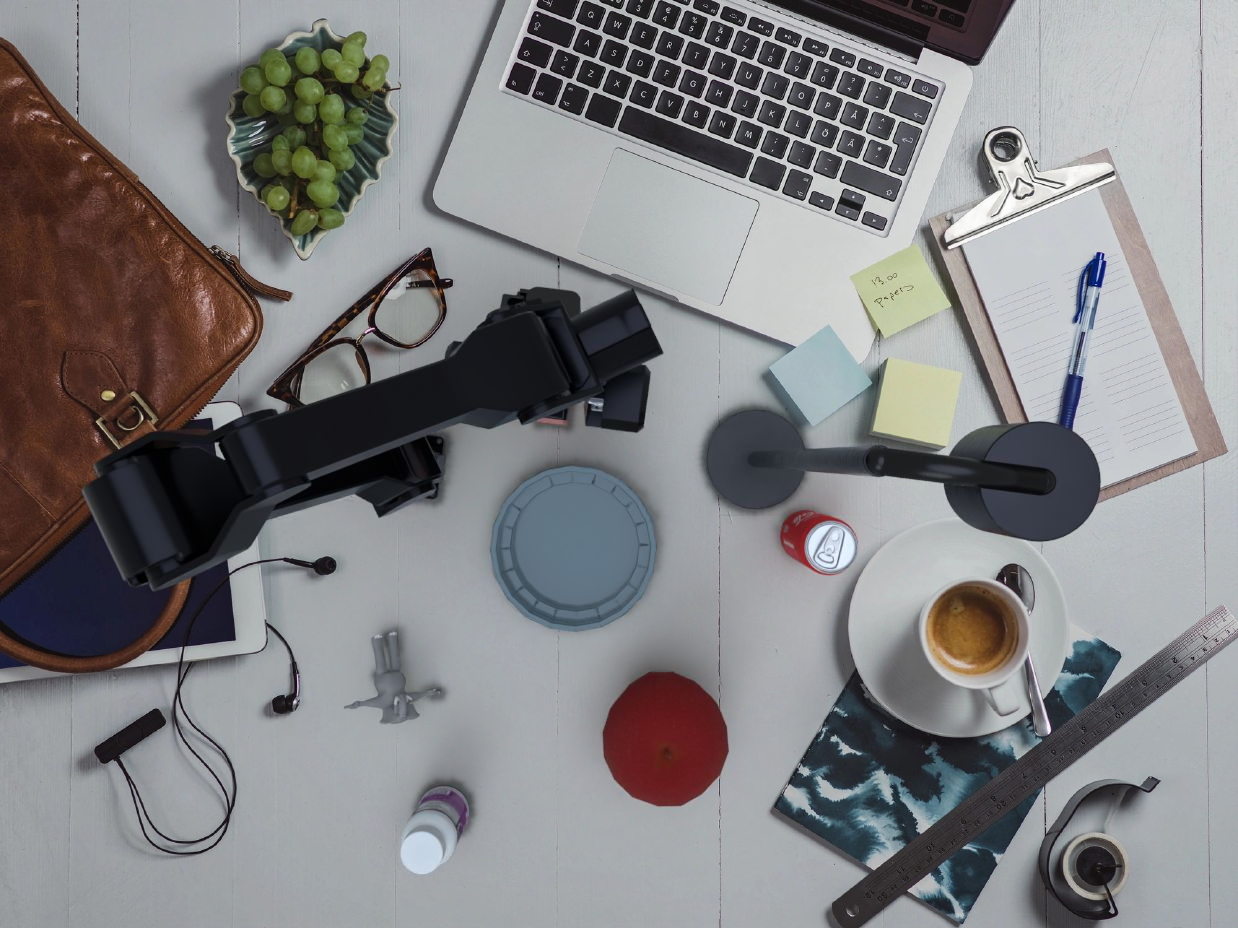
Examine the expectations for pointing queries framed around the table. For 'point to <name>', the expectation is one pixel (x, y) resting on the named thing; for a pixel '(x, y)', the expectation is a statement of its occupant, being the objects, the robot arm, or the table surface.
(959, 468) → the desk lamp
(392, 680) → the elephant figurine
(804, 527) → the beverage can
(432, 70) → the table surface
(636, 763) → the apple
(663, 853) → the table surface
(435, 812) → the pill bottle
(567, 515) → the bowl
